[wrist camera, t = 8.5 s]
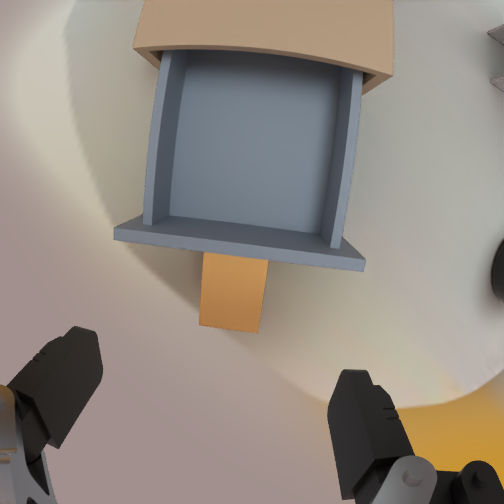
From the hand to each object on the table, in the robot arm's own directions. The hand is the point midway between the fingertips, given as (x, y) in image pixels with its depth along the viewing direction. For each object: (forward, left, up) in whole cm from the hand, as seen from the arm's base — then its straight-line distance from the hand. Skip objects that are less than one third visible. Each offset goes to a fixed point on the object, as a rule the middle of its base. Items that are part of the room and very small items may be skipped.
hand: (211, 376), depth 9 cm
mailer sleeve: (-20, 0, -11) cm, 23 cm away
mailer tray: (-8, 0, -11) cm, 14 cm away
